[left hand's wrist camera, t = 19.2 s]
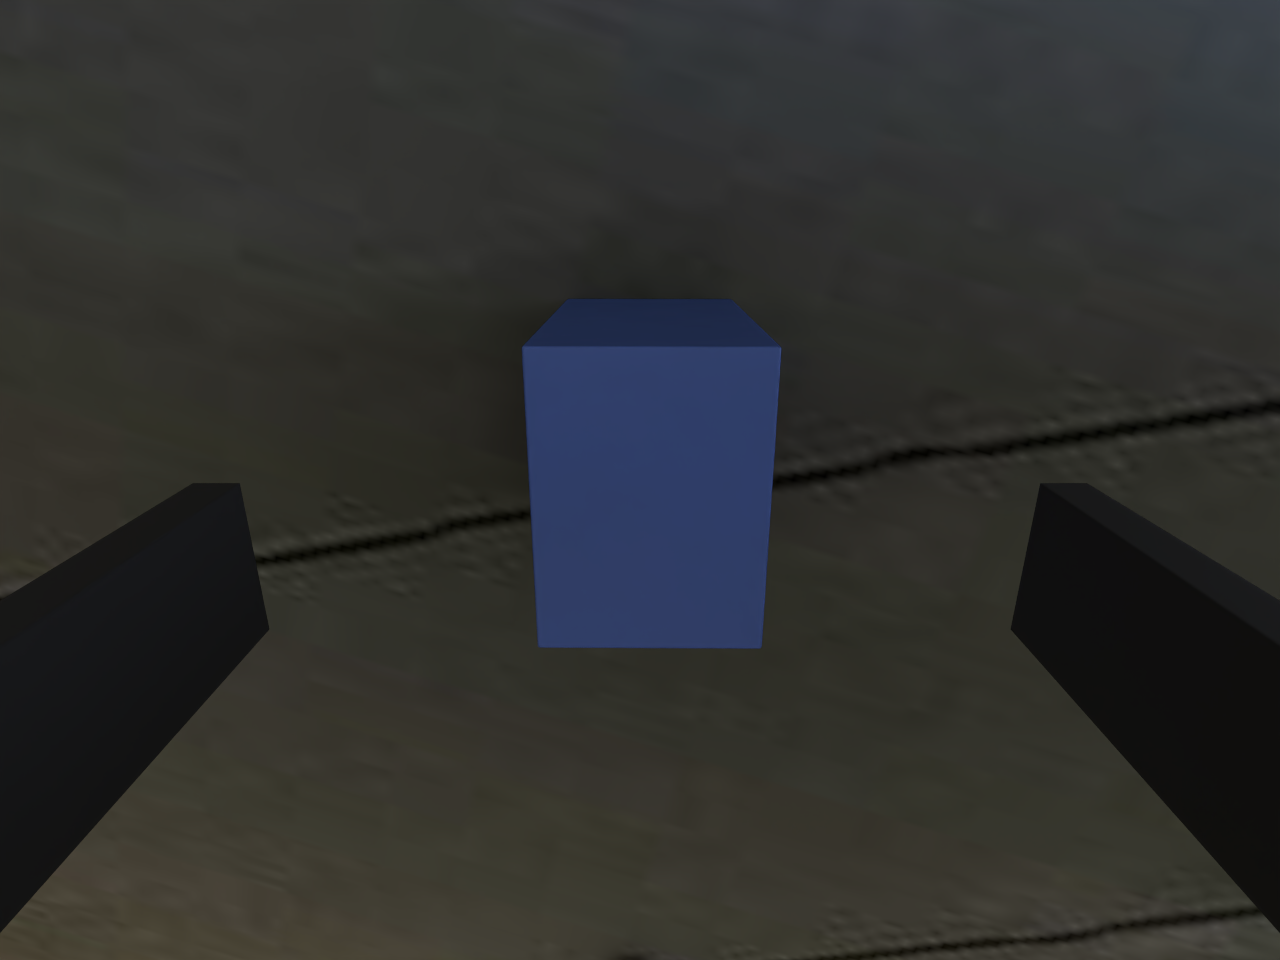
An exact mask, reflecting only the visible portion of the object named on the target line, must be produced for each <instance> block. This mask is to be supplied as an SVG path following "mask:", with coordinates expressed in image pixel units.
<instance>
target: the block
mask: <svg viewBox="0 0 1280 960" xmlns="http://www.w3.org/2000/svg"><path fill="white" fill-rule="evenodd" d="M522 362H523V381H524V399H525V418H526V436H527V454H528V473H529V491H530V510H531V528H532V547H533V565H534V584H535V602H536V621H537V639H538V647H548V648H750V649H760V648H761V646H762V633H763V618H764V603H765V588H766V573H767V558H768V543H769V528H770V513H771V498H772V483H773V468H774V453H775V438H776V423H777V408H778V393H779V378H780V363H781V347H780V346H779V345H778V344H777V343H776V342H775V341H774V340H773V339H772V338H771V337H770V336H769V335H768V334H767V333H766V332H765V331H764V330H763V329H762V328H760V327H759V326H758V325H757V324H756V323H755V322H754V321H753V320H752V319H751V318H750V317H749V316H748V315H747V314H746V313H745V312H744V311H743V310H742V309H741V308H740V307H739V306H738V305H737V304H736V303H734V302H733V301H732V300H731V299H567V300H566V301H565V302H564V304H563V305H562V306H561V307H560V308H559V309H558V310H557V311H556V312H555V313H554V314H553V315H552V316H551V317H550V318H549V319H548V320H547V321H546V322H545V323H544V324H543V325H542V327H541V328H540V329H539V330H538V331H537V332H536V333H535V334H534V335H533V336H532V337H531V338H530V339H529V340H528V341H527V342H526V343H525V344H524V345H523V346H522Z"/></svg>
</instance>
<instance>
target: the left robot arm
mask: <svg viewBox="0 0 1280 960" xmlns="http://www.w3.org/2000/svg"><path fill="white" fill-rule="evenodd" d="M268 630H269V626H268V621H267V616H266V611H265V606H264V601H263V596H262V591H261V586H260V581H259V576H258V571H257V567H256V562H255V557H254V552H253V547H252V542H251V537H250V532H249V527H248V522H247V517H246V512H245V507H244V503H243V498H242V493H241V488H240V483H193V484H191V485H189V486H188V487H186V488H184V489H183V490H181V491H180V492H178V493H176V494H175V495H173V496H171V497H170V498H168V499H166V500H165V501H163V502H162V503H160V504H158V505H157V506H155V507H153V508H152V509H150V510H148V511H147V512H145V513H143V514H142V515H140V516H139V517H137V518H135V519H134V520H132V521H130V522H129V523H127V524H125V525H124V526H122V527H120V528H119V529H117V530H116V531H114V532H112V533H111V534H109V535H107V536H106V537H104V538H102V539H101V540H99V541H97V542H96V543H94V544H93V545H91V546H89V547H88V548H86V549H84V550H83V551H81V552H79V553H78V554H76V555H74V556H73V557H71V558H70V559H68V560H66V561H65V562H63V563H61V564H60V565H58V566H56V567H55V568H53V569H51V570H50V571H48V572H47V573H45V574H43V575H42V576H40V577H38V578H37V579H35V580H33V581H32V582H30V583H29V584H27V585H25V586H24V587H22V588H20V589H19V590H17V591H15V592H14V593H12V594H10V595H9V596H7V597H6V598H4V599H2V600H1V601H0V932H1V931H2V930H3V929H4V928H5V927H6V926H7V925H8V923H9V922H10V921H11V920H12V919H13V918H14V917H15V915H16V914H17V913H18V912H19V911H20V910H21V909H22V908H23V906H24V905H25V904H26V903H27V902H28V901H29V900H30V899H31V897H32V896H33V895H34V894H35V893H36V892H37V891H38V890H39V888H40V887H41V886H42V885H43V884H44V883H45V882H46V881H47V879H48V878H49V877H50V876H51V875H52V874H53V873H54V871H55V870H56V869H57V868H58V867H59V866H60V865H61V864H62V862H63V861H64V860H65V859H66V858H67V857H68V856H69V855H70V853H71V852H72V851H73V850H74V849H75V848H76V847H77V846H78V844H79V843H80V842H81V841H82V840H83V839H84V838H85V837H86V835H87V834H88V833H89V832H90V831H91V830H92V829H93V828H94V826H95V825H96V824H97V823H98V822H99V821H100V820H101V818H102V817H103V816H104V815H105V814H106V813H107V812H108V811H109V809H110V808H111V807H112V806H113V805H114V804H115V803H116V802H117V800H118V799H119V798H120V797H121V796H122V795H123V794H124V793H125V791H126V790H127V789H128V788H129V787H130V786H131V785H132V784H133V782H134V781H135V780H136V779H137V778H138V777H139V776H140V774H141V773H142V772H143V771H144V770H145V769H146V768H147V767H148V765H149V764H150V763H151V762H152V761H153V760H154V759H155V758H156V756H157V755H158V754H159V753H160V752H161V751H162V750H163V749H164V747H165V746H166V745H167V744H168V743H169V742H170V741H171V740H172V738H173V737H174V736H175V735H176V734H177V733H178V732H179V731H180V729H181V728H182V727H183V726H184V725H185V724H186V723H187V721H188V720H189V719H190V718H191V717H192V716H193V715H194V714H195V712H196V711H197V710H198V709H199V708H200V707H201V706H202V705H203V703H204V702H205V701H206V700H207V699H208V698H209V697H210V696H211V694H212V693H213V692H214V691H215V690H216V689H217V688H218V687H219V685H220V684H221V683H222V682H223V681H224V680H225V679H226V677H227V676H228V675H229V674H230V673H231V672H232V671H233V670H234V668H235V667H236V666H237V665H238V664H239V663H240V662H241V661H242V659H243V658H244V657H245V656H246V655H247V654H248V653H249V652H250V650H251V649H252V648H253V647H254V646H255V645H256V644H257V643H258V641H259V640H260V639H261V638H262V637H263V636H264V635H265V634H266V632H267V631H268ZM1011 630H1012V631H1013V632H1014V634H1015V635H1016V636H1017V637H1018V638H1019V639H1020V640H1021V641H1022V643H1023V644H1024V645H1025V646H1026V647H1027V648H1028V649H1029V650H1030V652H1031V653H1032V654H1033V655H1034V656H1035V657H1036V658H1037V659H1038V661H1039V662H1040V663H1041V664H1042V665H1043V666H1044V667H1045V668H1046V670H1047V671H1048V672H1049V673H1050V674H1051V675H1052V676H1053V677H1054V679H1055V680H1056V681H1057V682H1058V683H1059V684H1060V685H1061V687H1062V688H1063V689H1064V690H1065V691H1066V692H1067V693H1068V694H1069V696H1070V697H1071V698H1072V699H1073V700H1074V701H1075V702H1076V703H1077V705H1078V706H1079V707H1080V708H1081V709H1082V710H1083V711H1084V712H1085V714H1086V715H1087V716H1088V717H1089V718H1090V719H1091V720H1092V721H1093V723H1094V724H1095V725H1096V726H1097V727H1098V728H1099V729H1100V731H1101V732H1102V733H1103V734H1104V735H1105V736H1106V737H1107V738H1108V740H1109V741H1110V742H1111V743H1112V744H1113V745H1114V746H1115V747H1116V749H1117V750H1118V751H1119V752H1120V753H1121V754H1122V755H1123V756H1124V758H1125V759H1126V760H1127V761H1128V762H1129V763H1130V764H1131V765H1132V767H1133V768H1134V769H1135V770H1136V771H1137V772H1138V773H1139V774H1140V776H1141V777H1142V778H1143V779H1144V780H1145V781H1146V782H1147V784H1148V785H1149V786H1150V787H1151V788H1152V789H1153V790H1154V791H1155V793H1156V794H1157V795H1158V796H1159V797H1160V798H1161V799H1162V800H1163V802H1164V803H1165V804H1166V805H1167V806H1168V807H1169V808H1170V809H1171V811H1172V812H1173V813H1174V814H1175V815H1176V816H1177V817H1178V818H1179V820H1180V821H1181V822H1182V823H1183V824H1184V825H1185V826H1186V828H1187V829H1188V830H1189V831H1190V832H1191V833H1192V834H1193V835H1194V837H1195V838H1196V839H1197V840H1198V841H1199V842H1200V843H1201V844H1202V846H1203V847H1204V848H1205V849H1206V850H1207V851H1208V852H1209V853H1210V855H1211V856H1212V857H1213V858H1214V859H1215V860H1216V861H1217V862H1218V864H1219V865H1220V866H1221V867H1222V868H1223V869H1224V870H1225V871H1226V873H1227V874H1228V875H1229V876H1230V877H1231V878H1232V879H1233V881H1234V882H1235V883H1236V884H1237V885H1238V886H1239V887H1240V888H1241V890H1242V891H1243V892H1244V893H1245V894H1246V895H1247V896H1248V897H1249V899H1250V900H1251V901H1252V902H1253V903H1254V904H1255V905H1256V906H1257V908H1258V909H1259V910H1260V911H1261V912H1262V913H1263V914H1264V915H1265V917H1266V918H1267V919H1268V920H1269V921H1270V922H1271V923H1272V925H1273V926H1274V927H1275V928H1276V929H1277V930H1278V931H1279V932H1280V601H1279V600H1278V599H1276V598H1274V597H1273V596H1271V595H1270V594H1268V593H1266V592H1265V591H1263V590H1261V589H1260V588H1258V587H1256V586H1255V585H1253V584H1251V583H1250V582H1248V581H1247V580H1245V579H1243V578H1242V577H1240V576H1238V575H1237V574H1235V573H1233V572H1232V571H1230V570H1229V569H1227V568H1225V567H1224V566H1222V565H1220V564H1219V563H1217V562H1215V561H1214V560H1212V559H1210V558H1209V557H1207V556H1206V555H1204V554H1202V553H1201V552H1199V551H1197V550H1196V549H1194V548H1192V547H1191V546H1189V545H1187V544H1186V543H1184V542H1183V541H1181V540H1179V539H1178V538H1176V537H1174V536H1173V535H1171V534H1169V533H1168V532H1166V531H1164V530H1163V529H1161V528H1160V527H1158V526H1156V525H1155V524H1153V523H1151V522H1150V521H1148V520H1146V519H1145V518H1143V517H1141V516H1140V515H1138V514H1137V513H1135V512H1133V511H1132V510H1130V509H1128V508H1127V507H1125V506H1123V505H1122V504H1120V503H1118V502H1117V501H1115V500H1114V499H1112V498H1110V497H1109V496H1107V495H1105V494H1104V493H1102V492H1100V491H1099V490H1097V489H1095V488H1094V487H1092V486H1091V485H1089V484H1087V483H1040V488H1039V493H1038V498H1037V503H1036V507H1035V512H1034V517H1033V522H1032V527H1031V532H1030V537H1029V542H1028V547H1027V552H1026V557H1025V562H1024V566H1023V571H1022V576H1021V581H1020V586H1019V591H1018V596H1017V601H1016V606H1015V611H1014V616H1013V621H1012V626H1011Z"/></svg>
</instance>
